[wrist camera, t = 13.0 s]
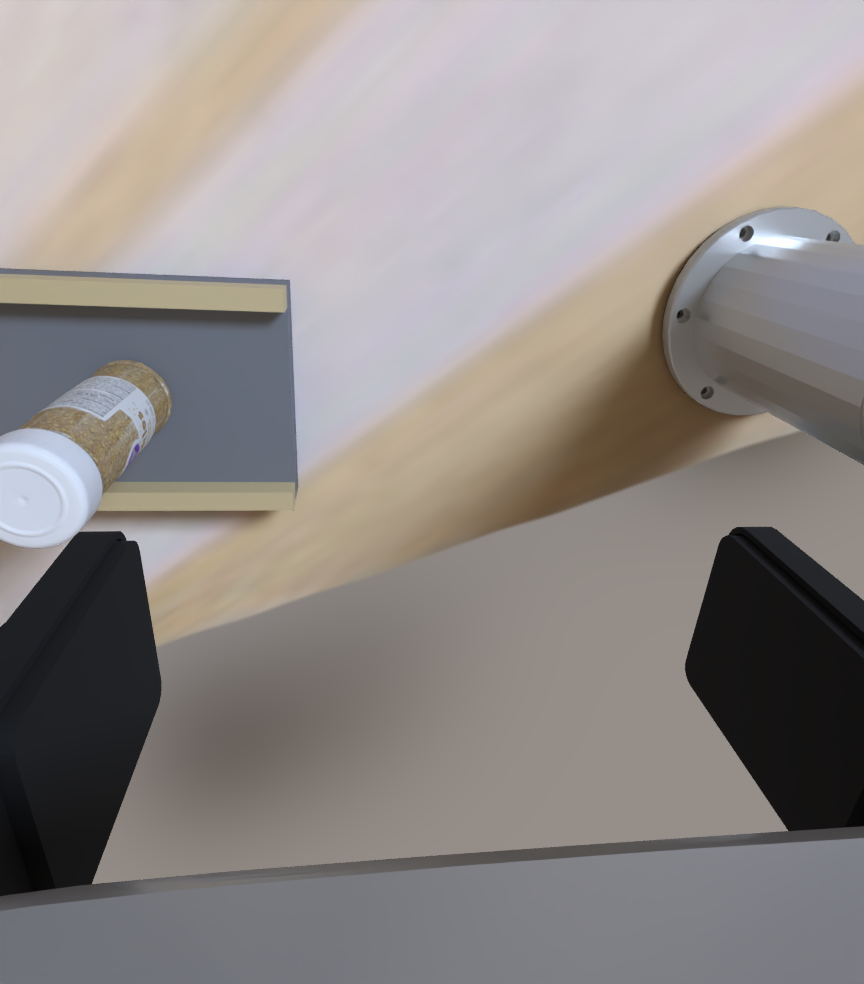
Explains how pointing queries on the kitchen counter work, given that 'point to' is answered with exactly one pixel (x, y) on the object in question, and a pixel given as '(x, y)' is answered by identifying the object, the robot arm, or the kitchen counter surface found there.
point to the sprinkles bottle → (77, 452)
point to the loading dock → (166, 377)
